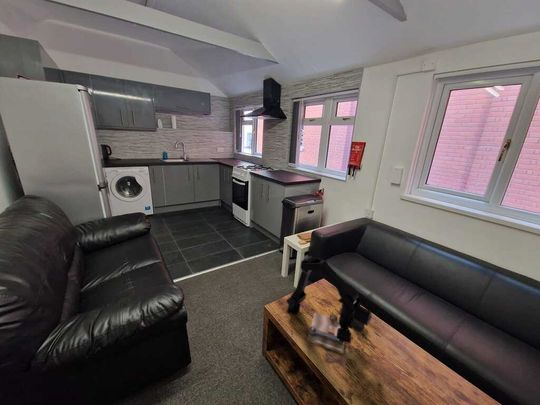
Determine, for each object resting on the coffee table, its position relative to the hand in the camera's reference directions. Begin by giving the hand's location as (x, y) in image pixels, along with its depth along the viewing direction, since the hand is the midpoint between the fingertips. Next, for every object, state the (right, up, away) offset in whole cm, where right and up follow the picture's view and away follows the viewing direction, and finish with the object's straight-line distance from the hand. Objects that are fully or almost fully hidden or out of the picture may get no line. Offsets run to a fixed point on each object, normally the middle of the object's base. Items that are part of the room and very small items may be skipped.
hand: (342, 337), depth 111 cm
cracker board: (-5, -3, +9) cm, 11 cm away
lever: (-8, -2, +3) cm, 8 cm away
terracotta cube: (-4, -2, +6) cm, 7 cm away
